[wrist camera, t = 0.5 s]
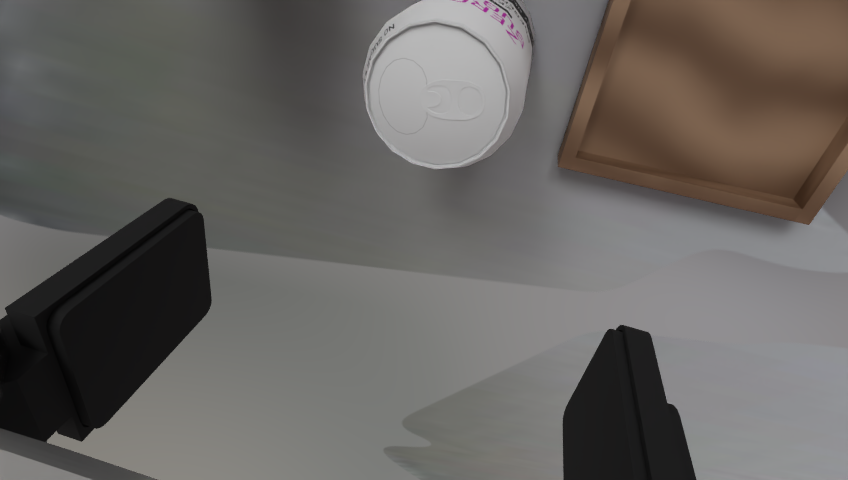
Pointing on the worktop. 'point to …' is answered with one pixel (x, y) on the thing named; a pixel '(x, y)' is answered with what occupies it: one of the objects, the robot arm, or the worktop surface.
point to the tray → (718, 102)
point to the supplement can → (449, 79)
